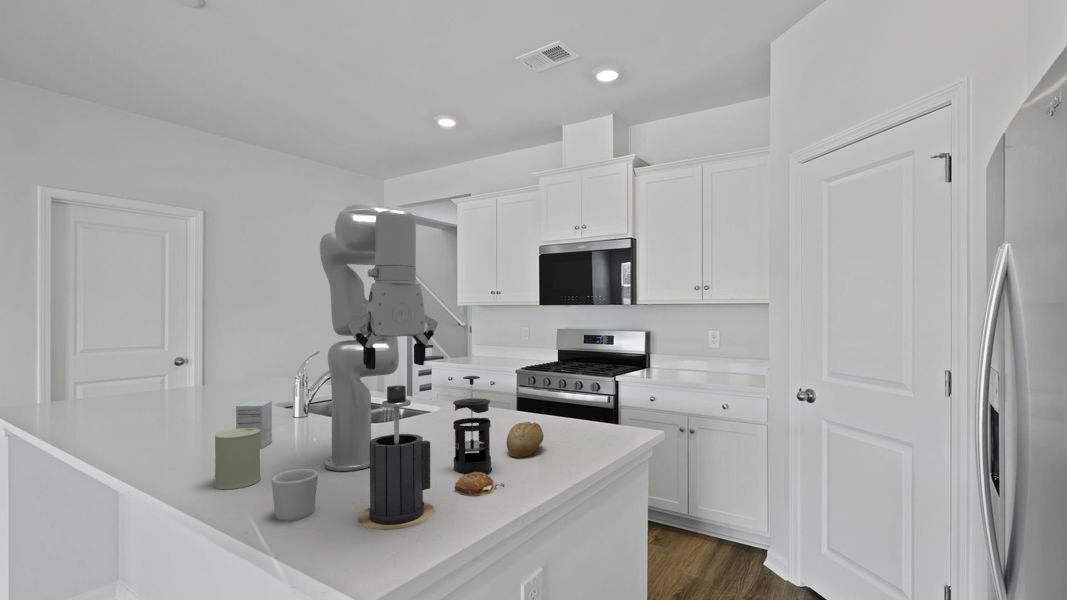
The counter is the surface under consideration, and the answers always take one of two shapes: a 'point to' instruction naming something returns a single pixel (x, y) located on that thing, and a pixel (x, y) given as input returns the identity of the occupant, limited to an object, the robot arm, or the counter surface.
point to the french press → (475, 460)
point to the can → (237, 458)
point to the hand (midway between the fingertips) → (395, 366)
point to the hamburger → (475, 484)
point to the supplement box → (256, 419)
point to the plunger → (396, 405)
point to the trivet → (428, 513)
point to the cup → (294, 493)
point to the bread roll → (524, 439)
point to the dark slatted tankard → (398, 478)
